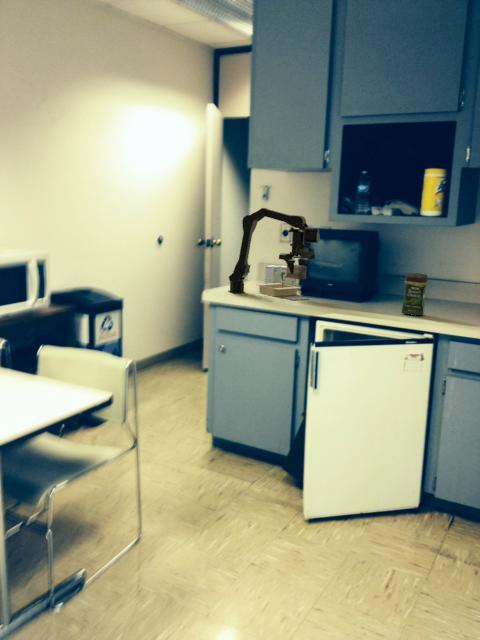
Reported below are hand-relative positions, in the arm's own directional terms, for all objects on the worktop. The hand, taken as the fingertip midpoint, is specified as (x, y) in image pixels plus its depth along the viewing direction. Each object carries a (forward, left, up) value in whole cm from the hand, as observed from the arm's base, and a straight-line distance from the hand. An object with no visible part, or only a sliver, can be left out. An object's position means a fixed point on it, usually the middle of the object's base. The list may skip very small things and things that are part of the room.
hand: (296, 273), depth 306 cm
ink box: (+19, +29, -13) cm, 37 cm away
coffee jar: (+23, -55, -12) cm, 61 cm away
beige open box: (+1, +15, -12) cm, 19 cm away
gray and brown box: (0, 0, -2) cm, 2 cm away
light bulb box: (+20, +42, -13) cm, 48 cm away
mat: (0, -1, -12) cm, 12 cm away
